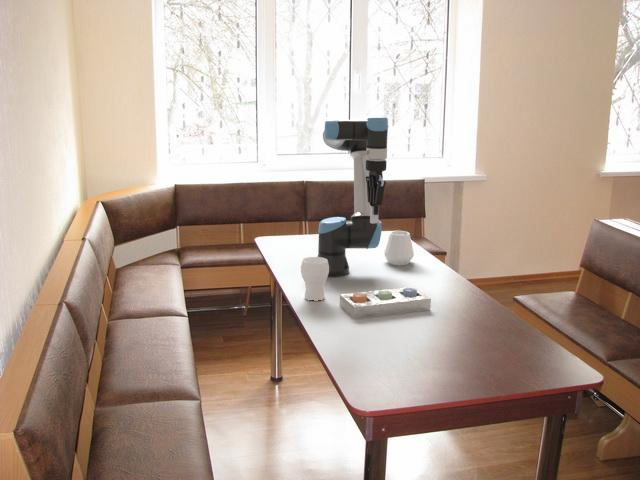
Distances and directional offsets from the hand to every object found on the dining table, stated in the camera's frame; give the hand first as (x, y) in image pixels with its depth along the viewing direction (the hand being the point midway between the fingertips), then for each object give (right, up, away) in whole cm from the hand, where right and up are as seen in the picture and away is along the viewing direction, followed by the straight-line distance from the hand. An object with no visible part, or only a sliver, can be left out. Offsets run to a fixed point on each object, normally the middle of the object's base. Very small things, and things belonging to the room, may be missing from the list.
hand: (374, 222), depth 247 cm
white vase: (+15, -17, +54) cm, 59 cm away
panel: (+4, -31, -4) cm, 32 cm away
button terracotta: (-6, -31, -7) cm, 33 cm away
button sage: (+4, -31, -4) cm, 31 cm away
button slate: (+13, -30, -1) cm, 33 cm away
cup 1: (-22, -29, +6) cm, 37 cm away
